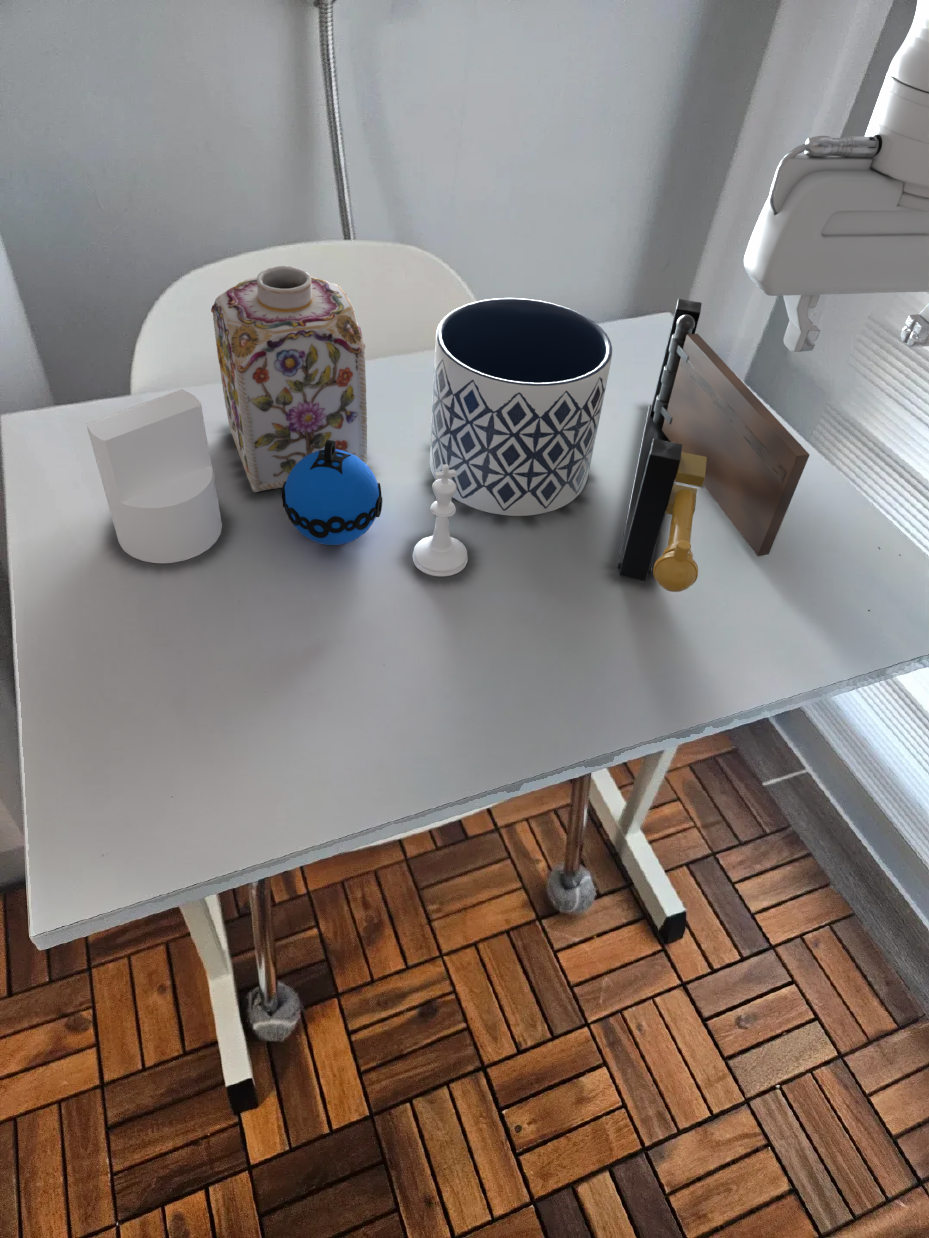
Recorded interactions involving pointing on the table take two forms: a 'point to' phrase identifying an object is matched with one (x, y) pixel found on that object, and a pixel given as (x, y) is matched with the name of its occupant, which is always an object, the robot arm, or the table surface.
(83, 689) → the table surface
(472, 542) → the table surface
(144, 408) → the cylinder with rectangular tab
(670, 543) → the bolt
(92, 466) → the table surface
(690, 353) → the gate
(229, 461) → the table surface
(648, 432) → the gate frame
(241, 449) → the decorative jar
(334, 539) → the ornament
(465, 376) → the planter
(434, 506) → the chess piece
